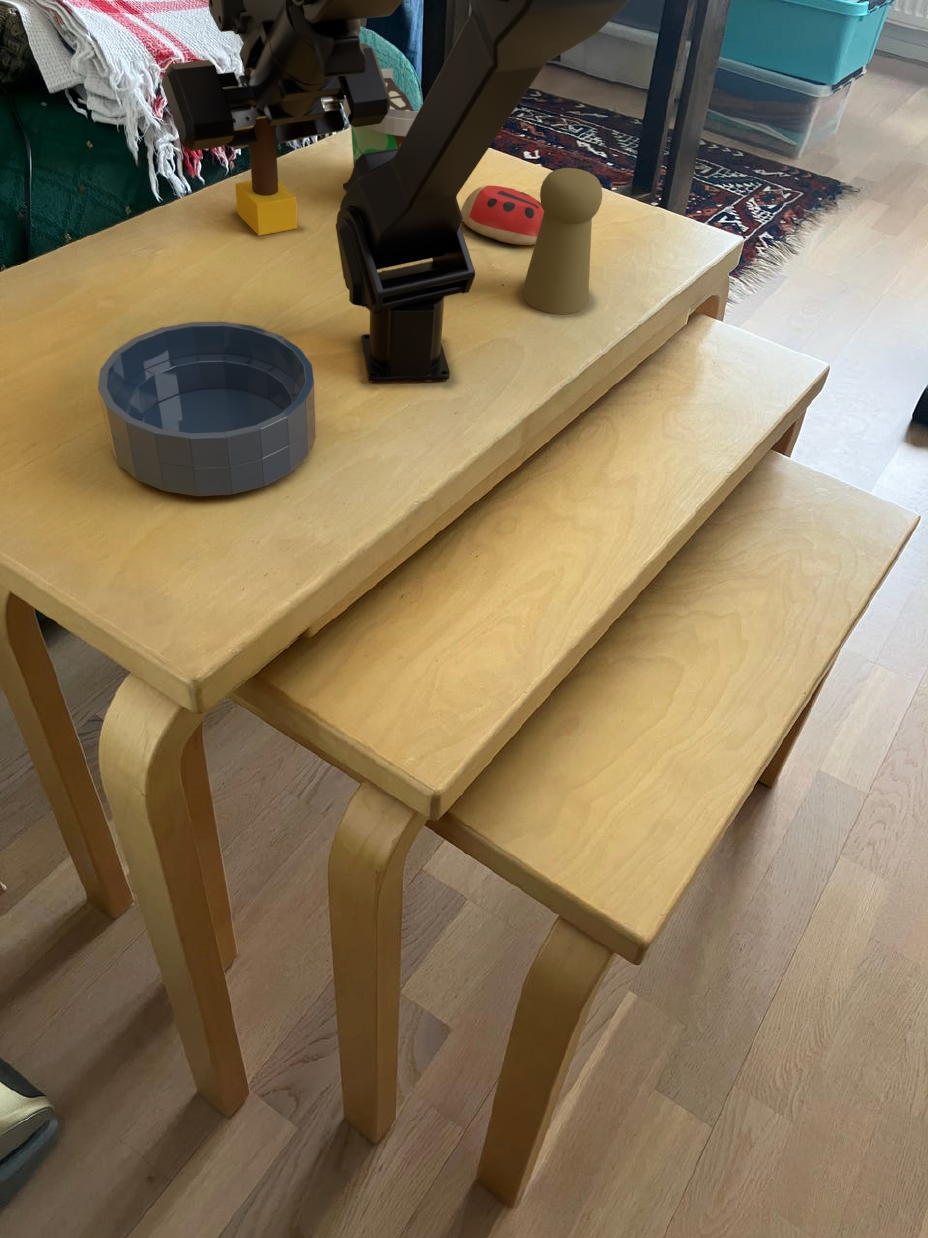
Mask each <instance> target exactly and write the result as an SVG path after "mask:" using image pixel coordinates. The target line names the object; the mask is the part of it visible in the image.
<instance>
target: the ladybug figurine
mask: <svg viewBox="0 0 928 1238" xmlns="http://www.w3.org/2000/svg"><path fill="white" fill-rule="evenodd" d="M460 211H461V215H462V218H463V220H462V222H463V223H464V224H465V225H466V226H467V227H468V228H470V229H471V230H473V231H474V232H476V233H477V234H480V235H482V236H484V237H487V238H490V239H492V240H496V241H498V242H503V243H507V244H512V245H520V246H532V245H533V246H535V243H536V239H537V236H538V232H539V228H540V225H541V221H542V217H543V214H544V210H543V208H542V206H541V201H539V200H538V199H536V198H534V197H533V196H532V195H530V194H528V193H525V192H523V191H519V190H518V189H515V188H511V187H507V186H500V185H490V184H489V185H482V186H479V187H477V188H476V189H474V190H473V191H472V192H471V193H469V195H468V196H467V197H466V199H465V200H464V202H463V204H462V206H461V209H460Z"/></svg>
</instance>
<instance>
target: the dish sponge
mask: <svg viewBox="0 0 928 1238" xmlns="http://www.w3.org/2000/svg"><path fill="white" fill-rule="evenodd" d="M243 72H244V73H243V75H249V74H251V70H250V68H244V67H243ZM258 108H259V107H258ZM254 109H255V107H254ZM253 129H254V132H255V134H256V137H257V140H258V143H257V144H254V145H251V146H248V147H249V160H250V177H251V180H246V181H240V182H235V183H234V188H235V198H236V199H235V200H236V210H237V215H238V216H239V217H240V218H241V219H242V220H243V221H244V222H245V223H246V224H247V225H248V226H249V227H250V229H251V230H252V231H254V233H255V234H256V235H257V236H259V237H260V236H266V235H270V234H276V233H281V232H286V231H291V230H297V229H298V210H297V209H298V208H297V197H296V196H295V195H294V194H293V193H292V192H291V191H289V190H288V189H287V188H286V187H285V186H284V185H283V184H282V183H281V182H280V181H279V175H278V157H277V155H278V154H277V136H276V125H272V126H269V124H268V121H267V118H261V119H256V123H255V125H254V127H253Z"/></svg>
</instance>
